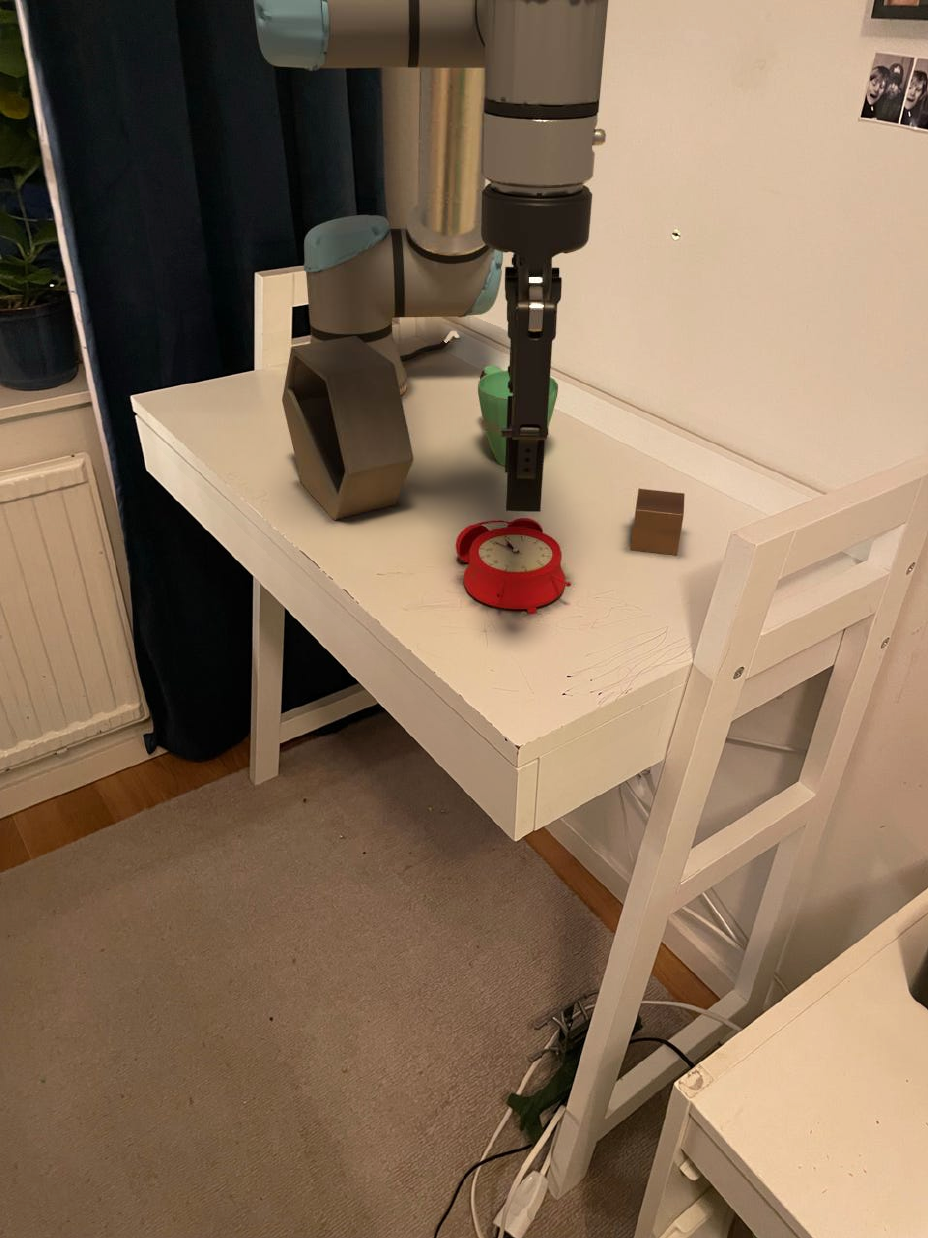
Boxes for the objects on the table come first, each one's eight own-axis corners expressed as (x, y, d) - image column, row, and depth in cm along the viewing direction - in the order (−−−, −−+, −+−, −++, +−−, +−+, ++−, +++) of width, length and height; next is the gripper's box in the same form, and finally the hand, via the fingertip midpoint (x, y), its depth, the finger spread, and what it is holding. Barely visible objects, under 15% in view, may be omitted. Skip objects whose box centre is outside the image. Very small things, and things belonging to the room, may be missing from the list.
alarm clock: (484, 594, 88) (444, 491, 97) (478, 638, 92) (441, 536, 102) (587, 578, 90) (538, 479, 99) (577, 621, 95) (531, 523, 104)
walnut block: (633, 527, 105) (638, 488, 103) (678, 532, 105) (684, 492, 102) (630, 550, 101) (635, 509, 99) (677, 555, 101) (683, 514, 98)
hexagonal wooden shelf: (276, 426, 116) (297, 311, 97) (334, 414, 119) (364, 301, 101) (326, 543, 111) (357, 445, 93) (385, 527, 114) (426, 429, 96)
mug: (566, 469, 117) (572, 393, 112) (495, 482, 114) (497, 404, 108) (517, 424, 128) (520, 353, 123) (451, 435, 125) (451, 362, 120)
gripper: (607, 216, 55) (576, 550, 69) (581, 159, 71) (560, 440, 84) (480, 214, 56) (474, 548, 69) (483, 157, 71) (477, 439, 84)
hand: (522, 488), depth 77 cm, fingers open, 6 cm apart
